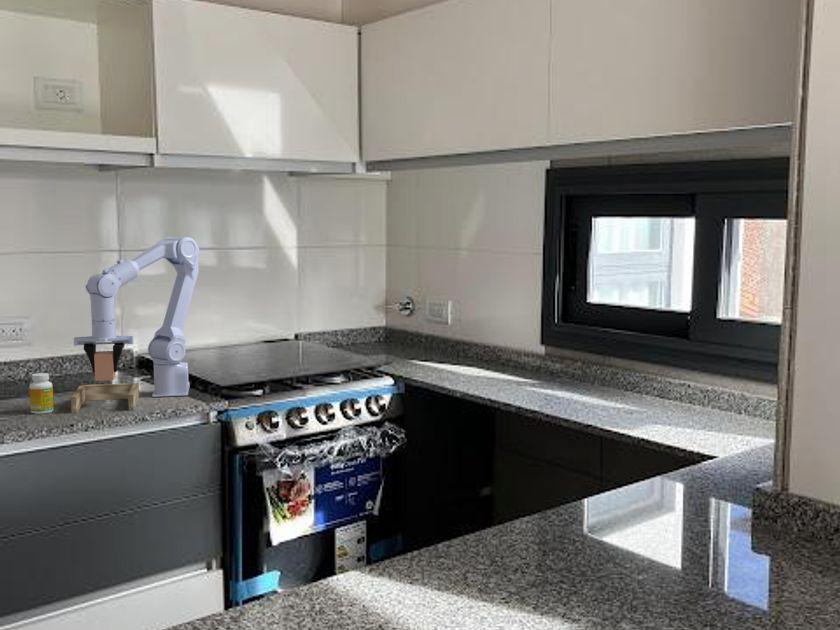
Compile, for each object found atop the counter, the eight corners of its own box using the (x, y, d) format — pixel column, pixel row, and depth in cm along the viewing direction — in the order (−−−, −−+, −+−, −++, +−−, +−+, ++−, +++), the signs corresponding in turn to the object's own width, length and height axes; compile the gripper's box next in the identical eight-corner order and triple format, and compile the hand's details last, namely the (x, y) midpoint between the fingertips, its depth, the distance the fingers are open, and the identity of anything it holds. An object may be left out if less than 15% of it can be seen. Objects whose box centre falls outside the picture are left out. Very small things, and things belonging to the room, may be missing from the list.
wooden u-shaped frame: (139, 397, 239) (139, 383, 239) (134, 410, 224) (133, 394, 223) (80, 399, 236) (80, 385, 236) (71, 412, 220) (70, 397, 220)
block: (115, 377, 231) (114, 351, 231) (113, 380, 227) (112, 353, 226) (97, 377, 231) (96, 351, 230) (95, 380, 226) (94, 354, 225)
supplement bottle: (45, 414, 219) (43, 376, 217) (25, 413, 220) (24, 375, 218) (58, 410, 224) (56, 372, 223) (39, 409, 225) (37, 371, 224)
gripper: (71, 322, 222) (73, 375, 223) (130, 321, 225) (132, 373, 226) (75, 319, 228) (77, 370, 230) (133, 318, 232) (135, 368, 233)
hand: (105, 371), depth 229 cm, fingers closed on block, 4 cm apart
